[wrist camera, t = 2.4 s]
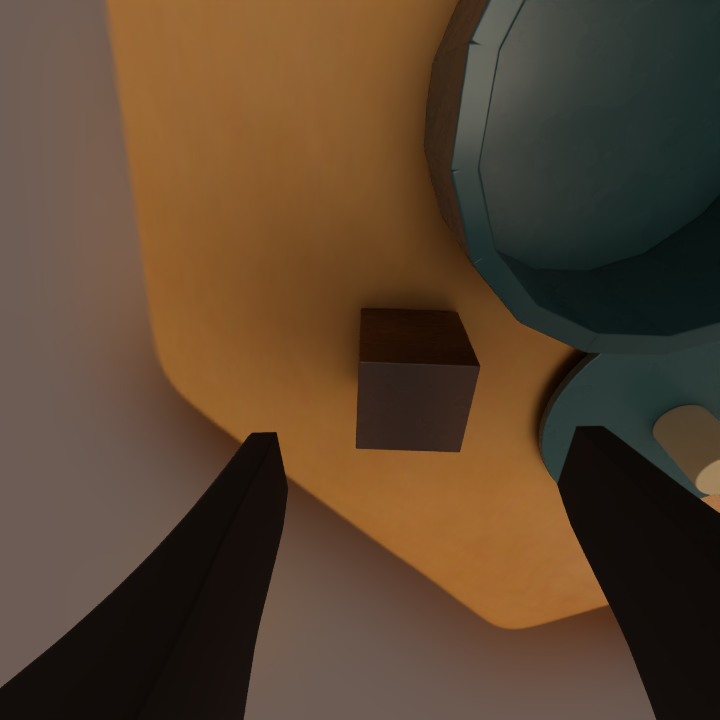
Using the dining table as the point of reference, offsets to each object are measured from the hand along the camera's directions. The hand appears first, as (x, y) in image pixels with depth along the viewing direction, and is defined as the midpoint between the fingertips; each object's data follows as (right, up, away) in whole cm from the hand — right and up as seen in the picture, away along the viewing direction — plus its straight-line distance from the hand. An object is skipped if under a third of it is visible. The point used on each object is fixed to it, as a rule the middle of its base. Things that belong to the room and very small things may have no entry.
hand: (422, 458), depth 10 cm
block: (+1, +3, +9) cm, 10 cm away
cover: (+14, 0, +11) cm, 18 cm away
